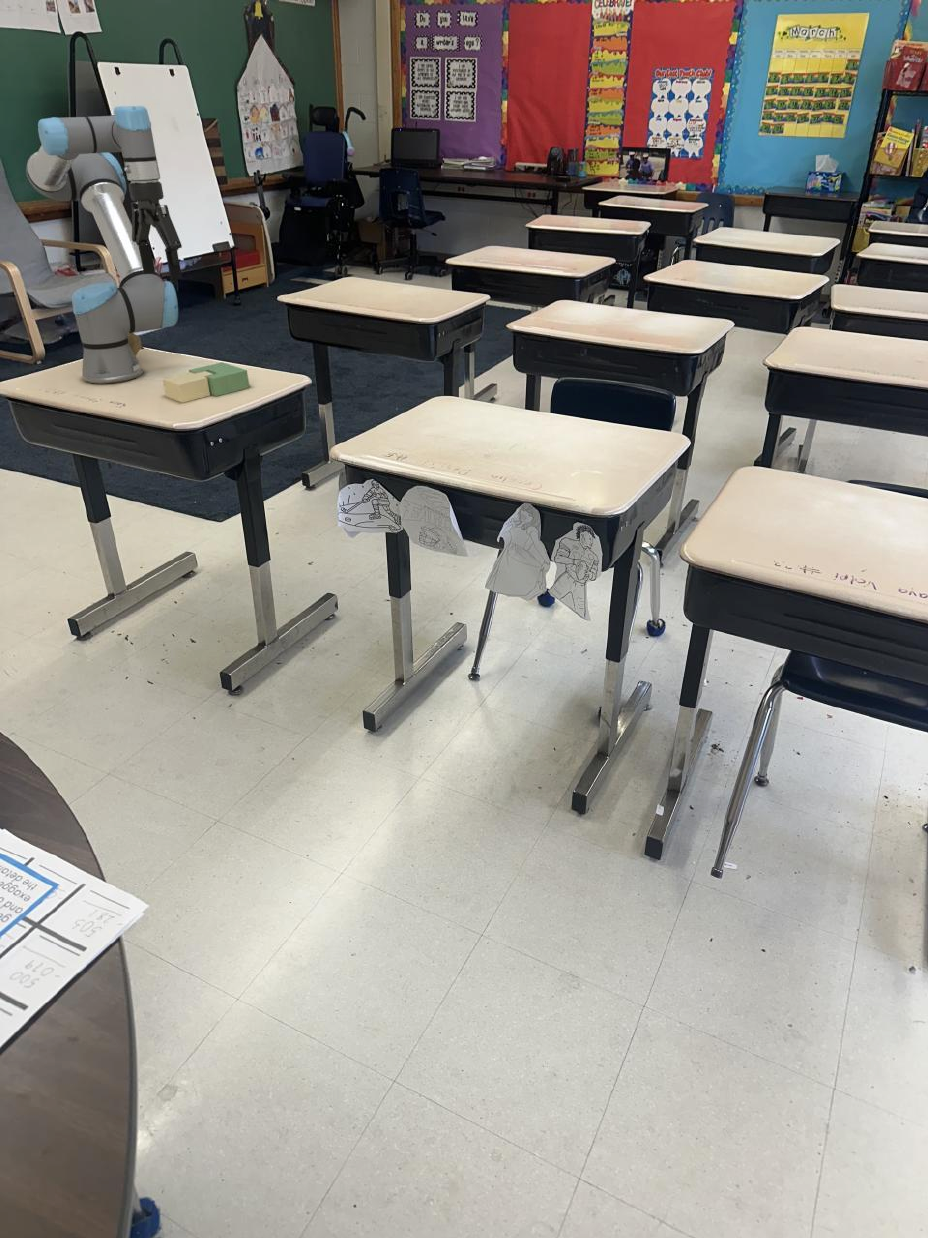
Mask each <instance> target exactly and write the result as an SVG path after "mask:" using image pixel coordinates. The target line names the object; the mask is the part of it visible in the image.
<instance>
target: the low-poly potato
mask: <svg viewBox="0 0 928 1238" xmlns="http://www.w3.org/2000/svg"><path fill="white" fill-rule="evenodd" d="M127 338H128V342H129V346H130V347H131V349H132V351H133V353H134V355H135V356H136V357H137V355H138V354H139V352H140V351H141V350H146V348H145V347H143V344H142V341H141V340H142V339H141V336H140V335H138V334H136V333H129V334H127Z"/></svg>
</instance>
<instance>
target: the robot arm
mask: <svg viewBox="0 0 928 1238" xmlns="http://www.w3.org/2000/svg"><path fill="white" fill-rule="evenodd" d="M37 127H38V128H37V132H38V137H39V141H40V144H41V146H40V147H39V149H38V151H36V152H34V153H33V154H31V155H30V157H29V158H28V160H27V163H26V167H25V172H26V177H27V180H28V182H29V184H30V185H31V186H32V187H33V188H34V189H35V190H36V192H38V193H39V194H41V195H42V196H44V197H46V198H48V199H51V200H54V201H59V202H78V201H80V203H81V205H82V207H83V208H84V209H85V210H86V211H87V212H90V213H91V214H92V215H93V218H94V220H95V223H96V224H97V228H98V229H99V232H100V235H101V237H102V239H103V241H104V243H105V246H106V248H107V250H108V252H109V255H110V257H111V259H112V262H113V265H114V266H115V269H116V271H117V273H118V276H119V278H120V281H119V282H118V286H117V285H116V284H115V283H114V282H102V283H101V282H98V283H93V284H91V285H86V286H84V287H81V288H79V289H76V290H75V291H74V292H73V293H72V295H71V303H72V309H73V310H72V312H73V314H74V316H75V321H76V325H77V329H78V333H79V336H80V340H81V345H82V349H83V351H82V352H81V356H82V357H83V358H82V371H81V372H82V373H81V374H82V377H83V381H85V382H87V383H90V384H97V385H99V384H100V385H103V384H104V385H105V384H107V385H108V384H116V383H117V384H118V383H123V382H128V381H131V380H134V379H136V378H139V377H140V376H142V374H143V370H142V369H143V368H142V366H141V363H140V362H139V360H138V357H137V355H136V356H135V355H134V353H133V351H132V349H131V347H130V346H129V342H128V338H127V334H129V333H134V334H136V333H141V332H147V331H148V332H149V331H153V330H154V331H155V330H163V329H165V328H170V327H174V326H175V325H176V324H177V322H178V319H179V306H178V305H179V303H178V298H177V297H178V296H177V292H176V289H175V287H174V284H173V283H172V282H171V281H176V280H183V276H182V270H181V264H180V260H179V259H180V258H179V252H178V251H179V249H182V247H183V245H182V243H181V239H180V238H179V235H178V233H177V230H176V228H175V225H174V222H173V220H172V217H171V214H170V210H169V206H168V205H167V204H161V203H160V200H163V199H164V198H165V197H164V196H165V195H164V190H163V185H162V182H161V181H159V180H160V179H161V174H160V168H159V163H158V159H157V153H156V147H155V142H154V136H153V132H152V131H153V130H152V122H151V120H150V116H149V113H148V109H147V108H146V107H145V106H144V105H127V106H126V105H125V106H124V105H123V106H122V105H121V106H115V107H114V108H113V115H101V116H74V117H73V116H72V117H69V116H68V117H56V116H53V117H48V118H47V117H46V118H41V119H40V120H38V123H37ZM112 153H121V155H122V160H123V164H124V167H123V169H122V167H121V165H120V163H119V161H118V160H117V158H116V157H115V156H114V155H113V154H112ZM123 170H124V171H125V175H126V178H127V180H128V181H129V183H128V190H129V195H130V199H131V200H132V201H133V202H131V203H130V207H131V219H130V218H129V215H128V213H127V211H126V209H125V207H124V204H123V203H124V200H125V195H126V194H127V183H126V178H125V176H124V171H123ZM151 227H152V228H154V229H155V230H156V232H157V234H158V235H159V237H160V239H161V241H162V244H163V245H164V247H165V249H164V252H165V257H166V262H167V268H168V273H169V278H170V280H171V281H168V280H165V281H163V278H162V276H161V274H160V273H159V272H158V271H156V269H155V265H154V260H153V259H154V258H153V254H152V250H151V245H150V244H151V243H150V240H149V236H150V231H151ZM107 465H108V468H109V469H110V470H111V469H112V464H111V463H110V462H107Z"/></svg>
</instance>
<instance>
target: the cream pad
mask: <svg viewBox="0 0 928 1238" xmlns="http://www.w3.org/2000/svg"><path fill="white" fill-rule="evenodd" d="M209 375H213V374H212V373H209V372H206V371H203V372H199V373H192V372H189V371H188V372H185V373H181V374H177V375H173V376H168V377H165V378H162V383H163V387H164V388H163V389H164V394H165V397H166V398H168V399H171V400H174V401H177V402H179V403H186V402H190V401H191V402H192V401H194V400H198V399H201V398H205V397H209V396H211V394H210V392H209V386H208V381H207V378H206V376H209Z"/></svg>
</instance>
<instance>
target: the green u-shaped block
mask: <svg viewBox="0 0 928 1238" xmlns="http://www.w3.org/2000/svg"><path fill="white" fill-rule="evenodd" d="M203 371H206V372H209V373H212V374H213V375H209V376H206V378H207V381H208V386H209V392H210V395H211V396H214V397H219V396H222V395H227V394H230V393H235V392H237V391H241V390H245V389H249V388H250V380H249V376H248V375H249V374H248V370H247V369H244V368H242V367H238V366H235V365H232V364H228V363H226V362H222V361H221V362H218V363H217V362H216V363H213V364H209V365H204V366H200V367H196V368H192V369H188V373H189V372H192V373H199V372H203Z"/></svg>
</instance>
